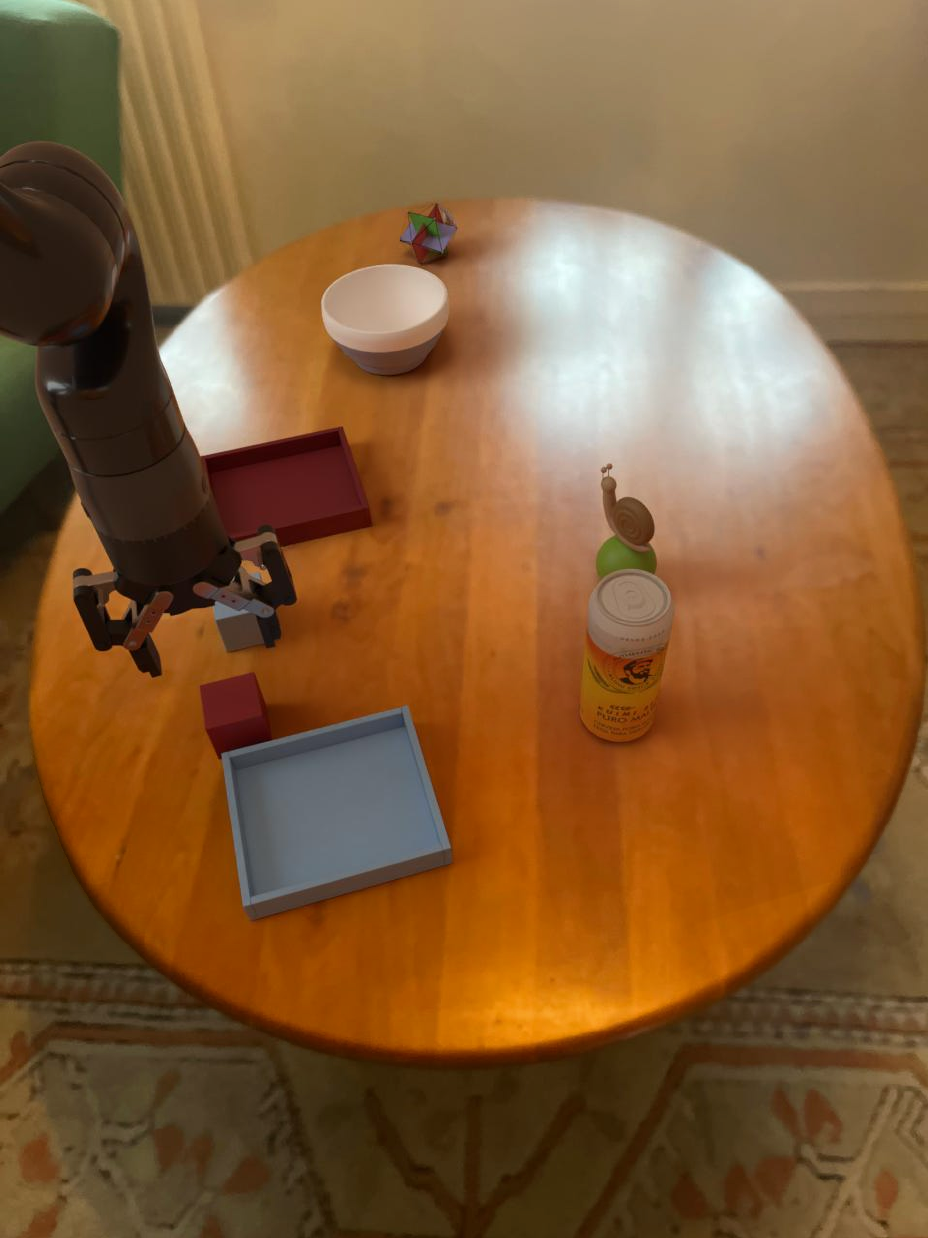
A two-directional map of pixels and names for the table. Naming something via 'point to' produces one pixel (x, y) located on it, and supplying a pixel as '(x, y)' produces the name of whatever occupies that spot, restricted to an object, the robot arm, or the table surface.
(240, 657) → the table surface
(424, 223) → the geometric puzzle
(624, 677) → the beer can
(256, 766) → the blue tray
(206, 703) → the burgundy block
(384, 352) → the bowl
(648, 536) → the snail figurine
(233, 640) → the blue block
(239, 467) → the burgundy tray
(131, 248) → the robot arm
